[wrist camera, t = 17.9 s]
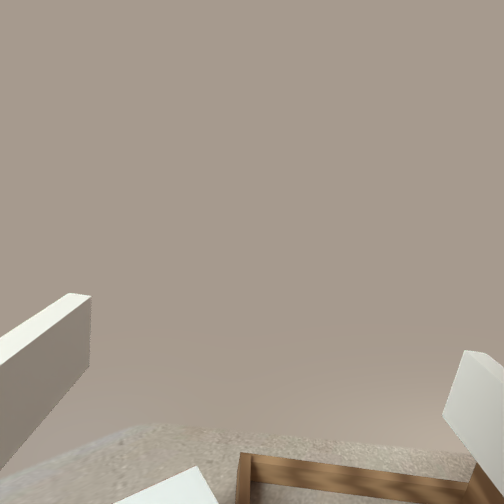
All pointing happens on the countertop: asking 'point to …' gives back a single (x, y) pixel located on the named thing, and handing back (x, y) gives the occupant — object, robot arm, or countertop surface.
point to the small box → (175, 491)
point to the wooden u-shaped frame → (362, 482)
